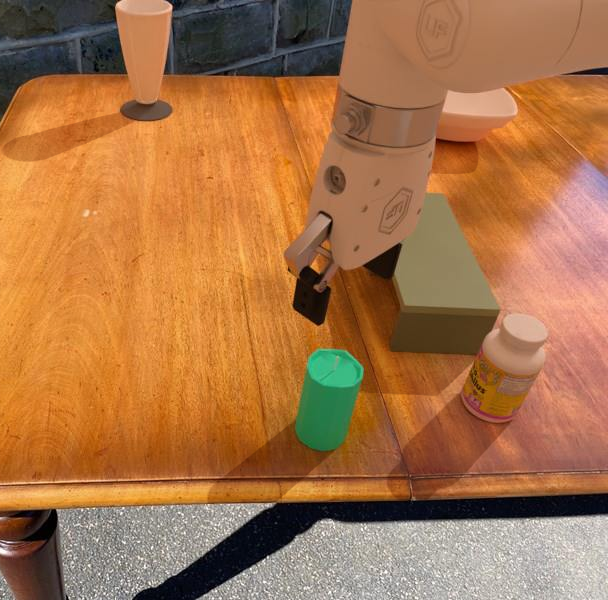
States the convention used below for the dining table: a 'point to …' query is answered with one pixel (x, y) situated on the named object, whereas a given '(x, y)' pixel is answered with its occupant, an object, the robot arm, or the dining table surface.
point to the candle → (328, 398)
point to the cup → (144, 54)
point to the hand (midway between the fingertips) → (343, 293)
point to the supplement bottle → (505, 368)
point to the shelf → (440, 288)
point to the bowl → (475, 114)
